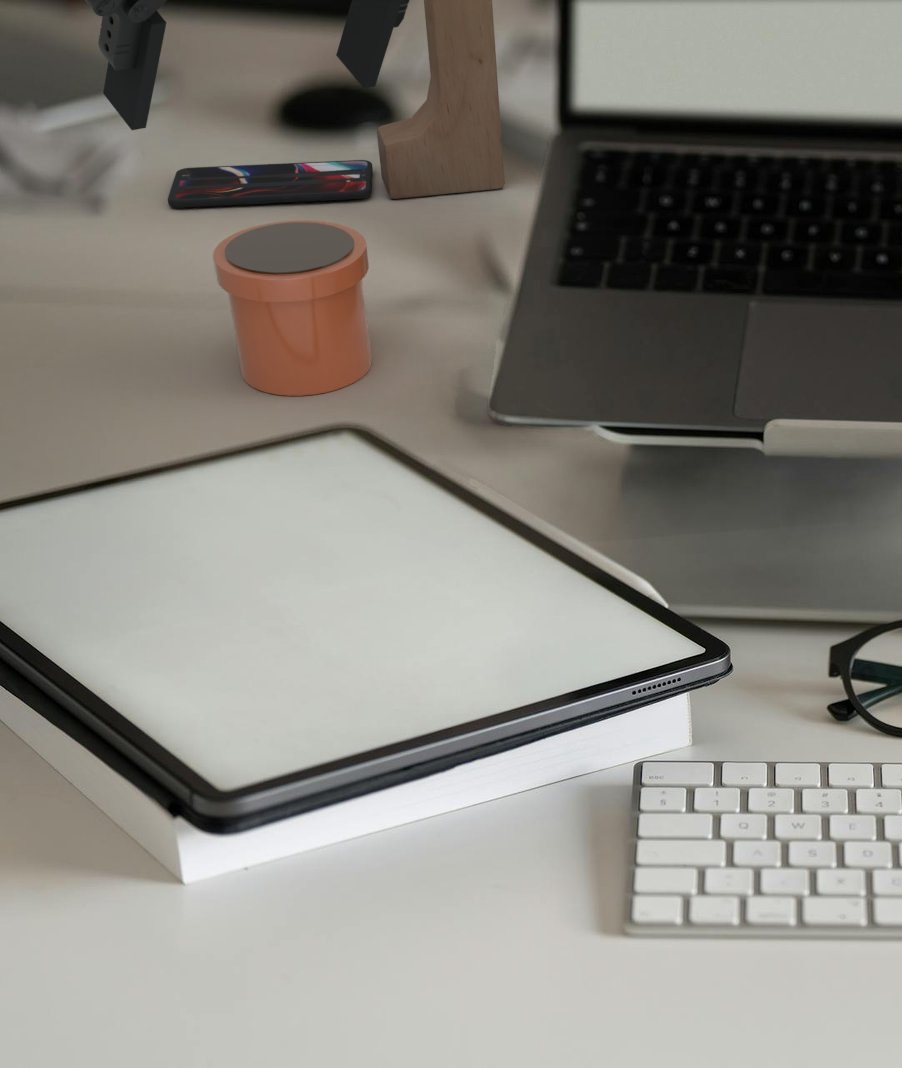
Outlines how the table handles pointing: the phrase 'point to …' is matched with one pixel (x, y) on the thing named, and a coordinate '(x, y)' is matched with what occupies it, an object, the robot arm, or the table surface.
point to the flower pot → (297, 305)
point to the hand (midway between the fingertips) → (245, 90)
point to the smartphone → (271, 183)
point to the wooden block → (450, 110)
